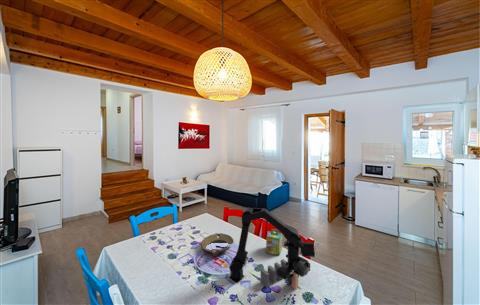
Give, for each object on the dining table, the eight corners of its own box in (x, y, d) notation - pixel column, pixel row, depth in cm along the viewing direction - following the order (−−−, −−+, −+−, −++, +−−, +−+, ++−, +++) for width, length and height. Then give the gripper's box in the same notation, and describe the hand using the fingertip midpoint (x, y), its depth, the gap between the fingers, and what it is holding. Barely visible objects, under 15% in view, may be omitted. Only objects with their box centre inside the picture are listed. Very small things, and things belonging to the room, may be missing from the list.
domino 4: (287, 276, 114) (287, 264, 114) (280, 271, 119) (280, 260, 118) (289, 275, 115) (289, 263, 115) (283, 270, 120) (283, 259, 119)
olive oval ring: (238, 242, 152) (238, 232, 152) (219, 266, 125) (219, 254, 124) (212, 237, 161) (211, 228, 160) (188, 258, 133) (188, 247, 132)
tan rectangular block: (295, 289, 105) (295, 276, 104) (288, 283, 109) (288, 271, 108) (298, 287, 106) (298, 274, 105) (290, 282, 110) (290, 269, 109)
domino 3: (280, 280, 112) (280, 267, 111) (274, 275, 116) (274, 263, 115) (283, 278, 113) (283, 266, 112) (276, 273, 117) (276, 262, 116)
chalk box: (265, 253, 138) (265, 231, 137) (269, 246, 146) (269, 226, 145) (279, 256, 134) (279, 234, 133) (282, 249, 143) (282, 228, 141)
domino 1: (266, 287, 106) (266, 274, 106) (260, 282, 110) (260, 269, 110) (269, 286, 107) (269, 273, 107) (263, 281, 111) (263, 268, 111)
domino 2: (274, 283, 109) (273, 271, 108) (267, 278, 113) (267, 266, 113) (276, 282, 110) (276, 270, 109) (270, 277, 114) (270, 265, 114)
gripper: (292, 268, 94) (292, 301, 95) (318, 255, 105) (317, 284, 106) (275, 257, 103) (275, 286, 105) (300, 246, 114) (300, 273, 115)
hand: (293, 282), depth 107 cm, fingers open, 4 cm apart
